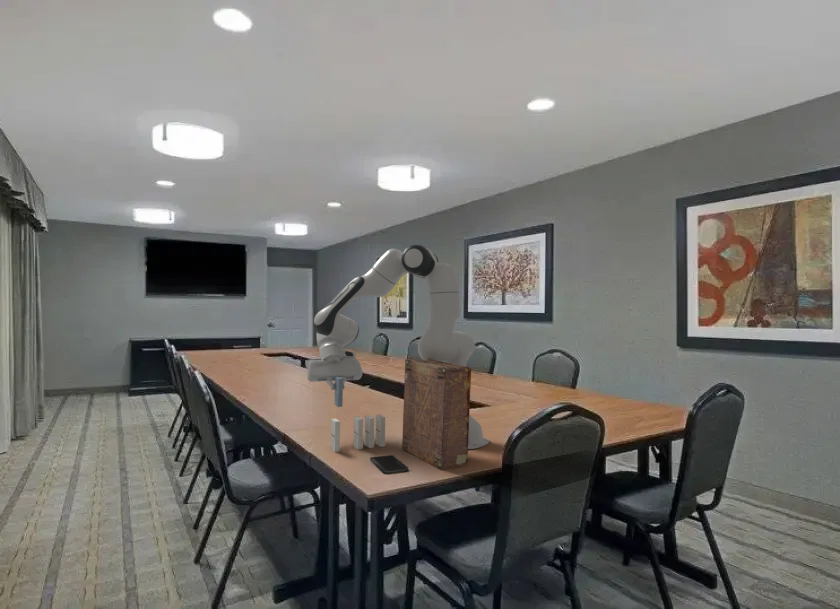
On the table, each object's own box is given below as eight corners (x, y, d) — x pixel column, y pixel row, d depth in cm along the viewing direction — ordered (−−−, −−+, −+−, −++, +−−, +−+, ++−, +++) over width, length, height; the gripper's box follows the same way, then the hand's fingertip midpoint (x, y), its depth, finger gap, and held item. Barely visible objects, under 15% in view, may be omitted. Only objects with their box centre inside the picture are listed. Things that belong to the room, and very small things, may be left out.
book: (401, 448, 171) (404, 358, 171) (425, 445, 175) (428, 358, 175) (441, 470, 149) (445, 368, 149) (467, 467, 153) (471, 367, 153)
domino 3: (358, 445, 175) (358, 416, 175) (362, 449, 171) (363, 419, 171) (353, 445, 175) (353, 416, 175) (358, 449, 170) (358, 419, 170)
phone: (383, 471, 145) (369, 457, 159) (383, 475, 145) (369, 460, 159) (409, 468, 148) (393, 454, 162) (409, 472, 148) (393, 458, 162)
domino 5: (379, 442, 179) (379, 414, 179) (385, 446, 174) (385, 417, 174) (375, 443, 178) (375, 414, 178) (380, 446, 173) (380, 417, 174)
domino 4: (369, 444, 177) (369, 415, 177) (374, 447, 172) (374, 418, 173) (364, 444, 176) (364, 415, 176) (369, 448, 172) (369, 418, 172)
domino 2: (335, 448, 172) (335, 418, 172) (339, 451, 167) (339, 421, 167) (330, 448, 171) (331, 418, 171) (334, 452, 167) (335, 421, 167)
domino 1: (338, 403, 186) (339, 376, 186) (342, 406, 181) (343, 378, 181) (334, 404, 185) (335, 376, 185) (337, 407, 180) (338, 378, 180)
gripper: (305, 353, 186) (310, 384, 178) (359, 352, 195) (366, 382, 186) (303, 364, 190) (307, 395, 182) (355, 363, 199) (362, 392, 190)
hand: (338, 388), depth 184 cm, fingers closed on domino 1, 2 cm apart
